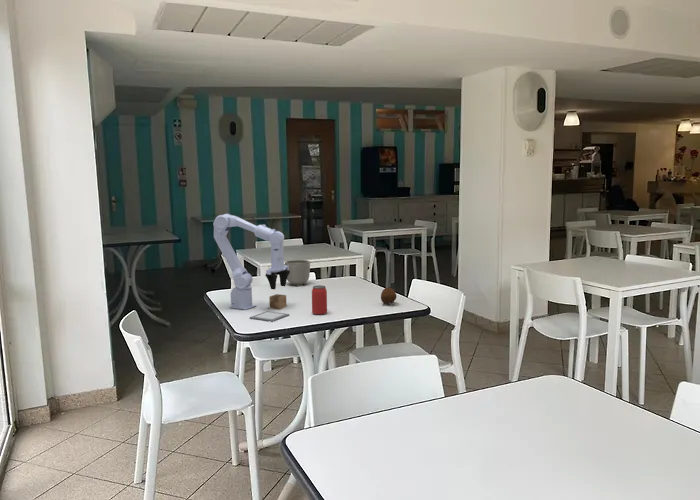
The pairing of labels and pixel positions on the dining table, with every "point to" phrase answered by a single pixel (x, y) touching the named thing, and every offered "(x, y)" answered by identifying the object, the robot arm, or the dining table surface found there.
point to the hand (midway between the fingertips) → (278, 287)
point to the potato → (388, 295)
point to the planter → (298, 271)
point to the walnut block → (277, 301)
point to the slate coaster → (269, 316)
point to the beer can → (319, 300)
